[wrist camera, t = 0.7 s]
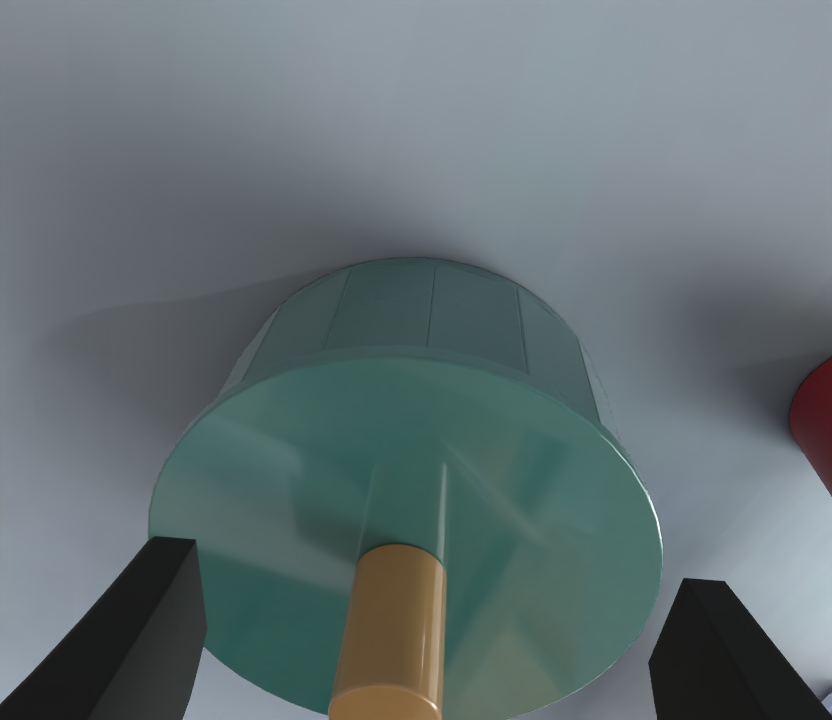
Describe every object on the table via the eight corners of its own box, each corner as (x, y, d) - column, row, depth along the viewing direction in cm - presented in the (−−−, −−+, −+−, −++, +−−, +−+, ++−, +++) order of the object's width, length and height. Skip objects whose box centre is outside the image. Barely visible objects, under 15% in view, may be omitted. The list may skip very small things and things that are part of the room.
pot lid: (541, 732, 21) (558, 918, 17) (143, 634, 20) (60, 808, 16) (750, 420, 15) (852, 595, 11) (197, 258, 14) (87, 384, 10)
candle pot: (523, 591, 25) (535, 741, 20) (212, 509, 24) (150, 647, 19) (669, 325, 20) (733, 447, 15) (272, 204, 19) (205, 294, 14)
